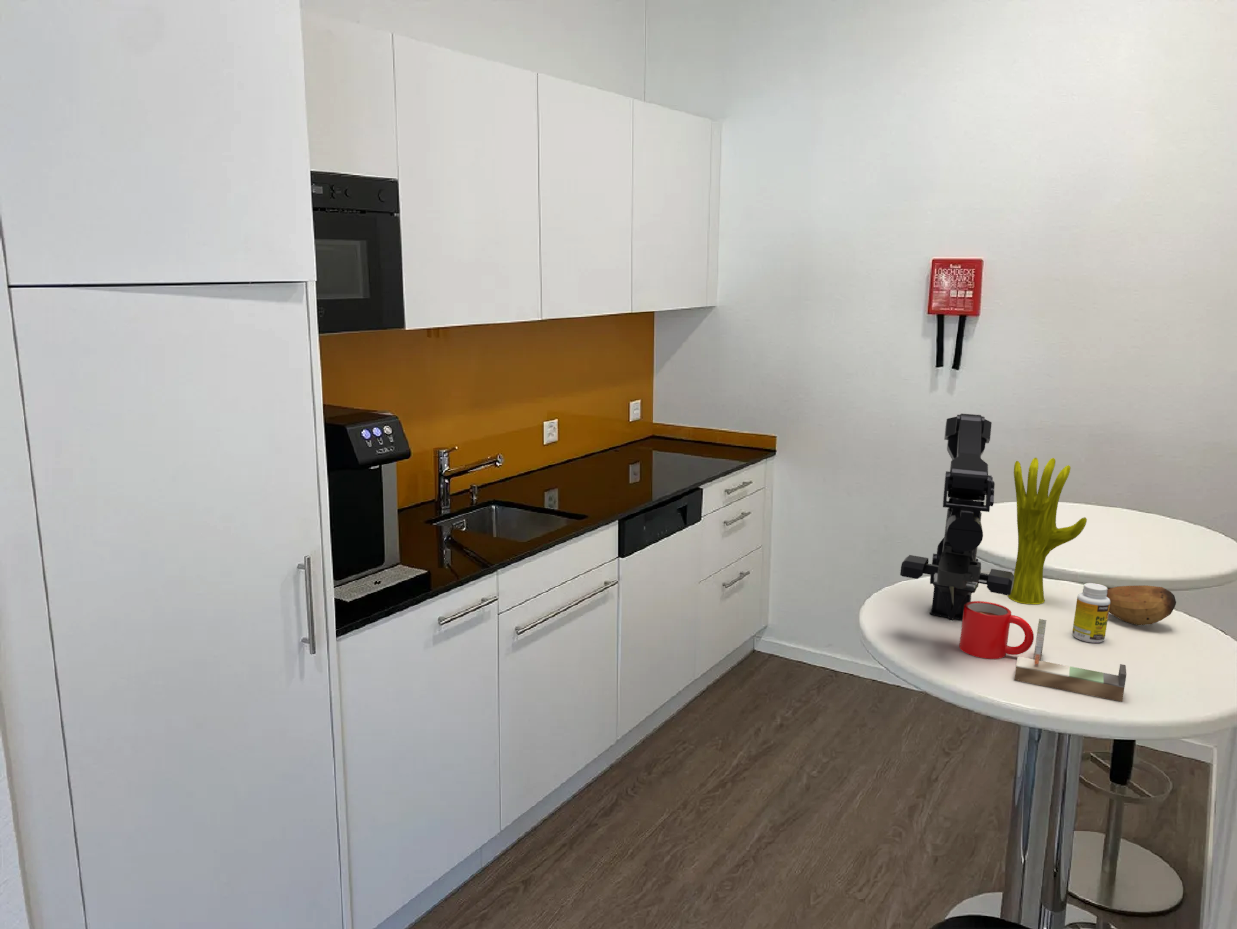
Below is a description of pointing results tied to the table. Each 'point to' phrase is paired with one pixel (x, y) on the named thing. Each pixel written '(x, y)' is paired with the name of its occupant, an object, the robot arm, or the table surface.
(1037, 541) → the glove
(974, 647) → the mug
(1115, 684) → the gauge rail
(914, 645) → the table surface
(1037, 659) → the grey flat piece
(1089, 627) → the supplement bottle
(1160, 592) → the potato
